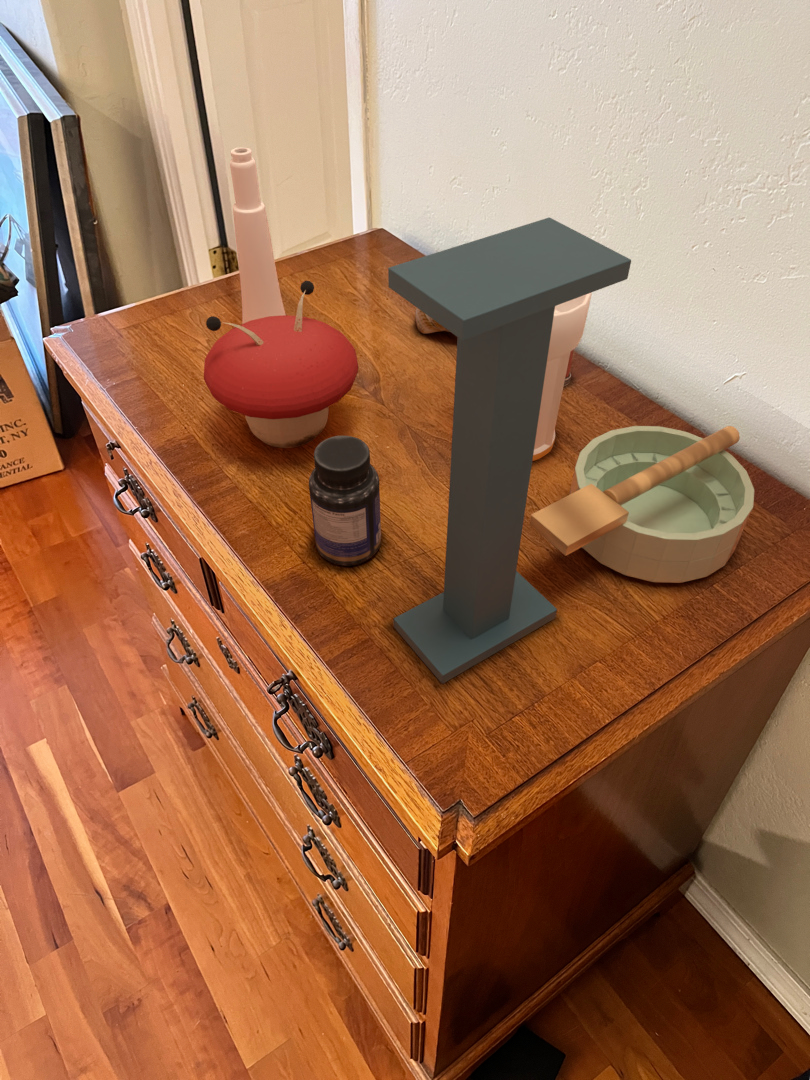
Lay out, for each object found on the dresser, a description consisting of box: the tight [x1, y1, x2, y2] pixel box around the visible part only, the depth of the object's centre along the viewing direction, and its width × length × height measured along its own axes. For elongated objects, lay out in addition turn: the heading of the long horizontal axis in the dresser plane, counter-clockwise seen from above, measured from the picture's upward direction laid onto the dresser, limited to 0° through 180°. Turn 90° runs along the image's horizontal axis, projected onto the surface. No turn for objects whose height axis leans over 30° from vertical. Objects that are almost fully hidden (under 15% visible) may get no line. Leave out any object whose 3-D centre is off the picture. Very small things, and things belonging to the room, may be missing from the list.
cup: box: [532, 292, 593, 462], centre depth 79 cm, size 11×11×17 cm
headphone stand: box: [387, 217, 632, 685], centre depth 56 cm, size 7×12×32 cm, turn 124°
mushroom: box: [203, 280, 360, 449], centre depth 81 cm, size 16×16×15 cm
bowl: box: [569, 425, 755, 584], centre depth 74 cm, size 16×16×6 cm
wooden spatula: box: [529, 425, 740, 557], centre depth 70 cm, size 23×4×2 cm, turn 125°
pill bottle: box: [308, 435, 382, 567], centre depth 70 cm, size 6×6×11 cm
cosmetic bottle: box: [229, 147, 286, 324], centre depth 93 cm, size 6×6×22 cm
